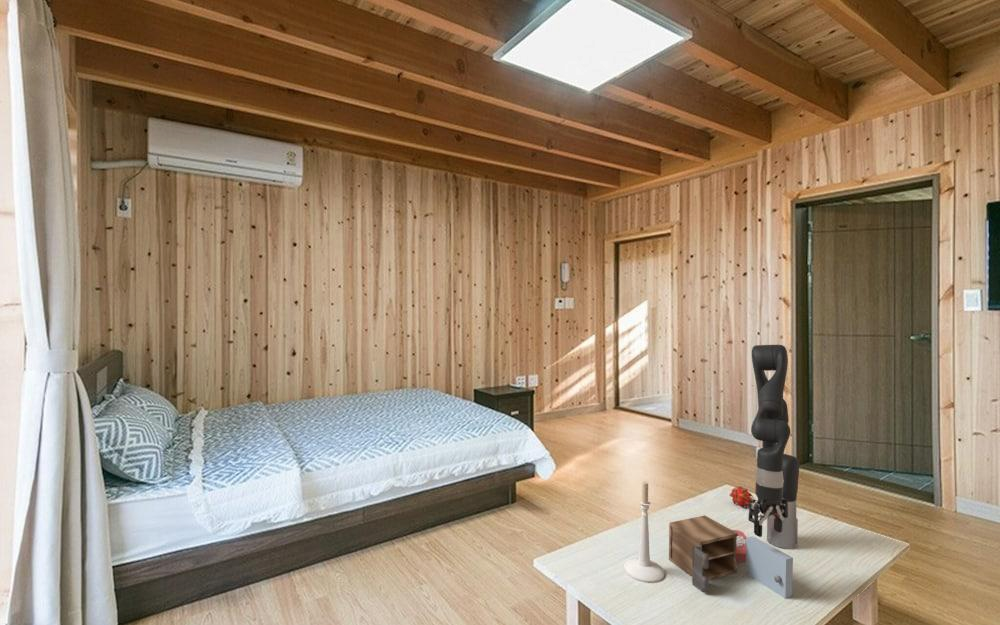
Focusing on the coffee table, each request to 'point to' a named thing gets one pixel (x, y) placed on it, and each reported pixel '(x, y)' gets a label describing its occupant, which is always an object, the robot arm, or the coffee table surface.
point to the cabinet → (702, 549)
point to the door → (769, 566)
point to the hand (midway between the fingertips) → (768, 533)
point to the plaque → (740, 546)
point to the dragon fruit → (741, 496)
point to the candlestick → (644, 550)
